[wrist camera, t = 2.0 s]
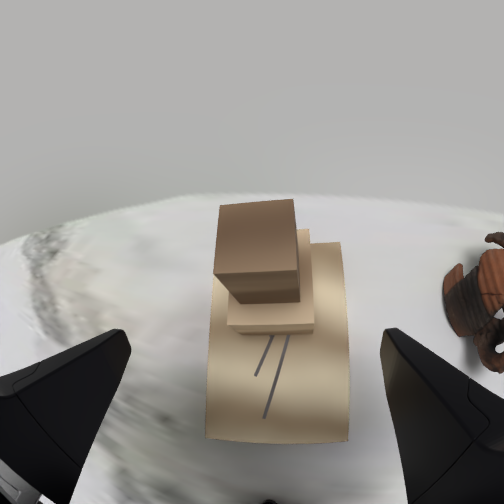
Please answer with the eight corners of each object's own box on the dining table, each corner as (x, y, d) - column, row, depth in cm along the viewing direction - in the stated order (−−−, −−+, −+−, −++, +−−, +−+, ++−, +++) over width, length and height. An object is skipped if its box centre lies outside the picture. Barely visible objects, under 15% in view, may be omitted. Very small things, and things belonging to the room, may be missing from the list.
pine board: (344, 436, 16) (347, 441, 14) (211, 434, 18) (205, 437, 16) (338, 250, 22) (340, 241, 21) (221, 256, 24) (215, 249, 23)
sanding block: (312, 333, 18) (317, 298, 10) (242, 335, 19) (194, 302, 11) (309, 255, 21) (306, 177, 13) (245, 258, 22) (208, 187, 14)
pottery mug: (434, 246, 21) (499, 196, 14) (480, 289, 22) (535, 253, 15) (434, 376, 14) (538, 337, 7) (482, 396, 15) (557, 369, 8)
